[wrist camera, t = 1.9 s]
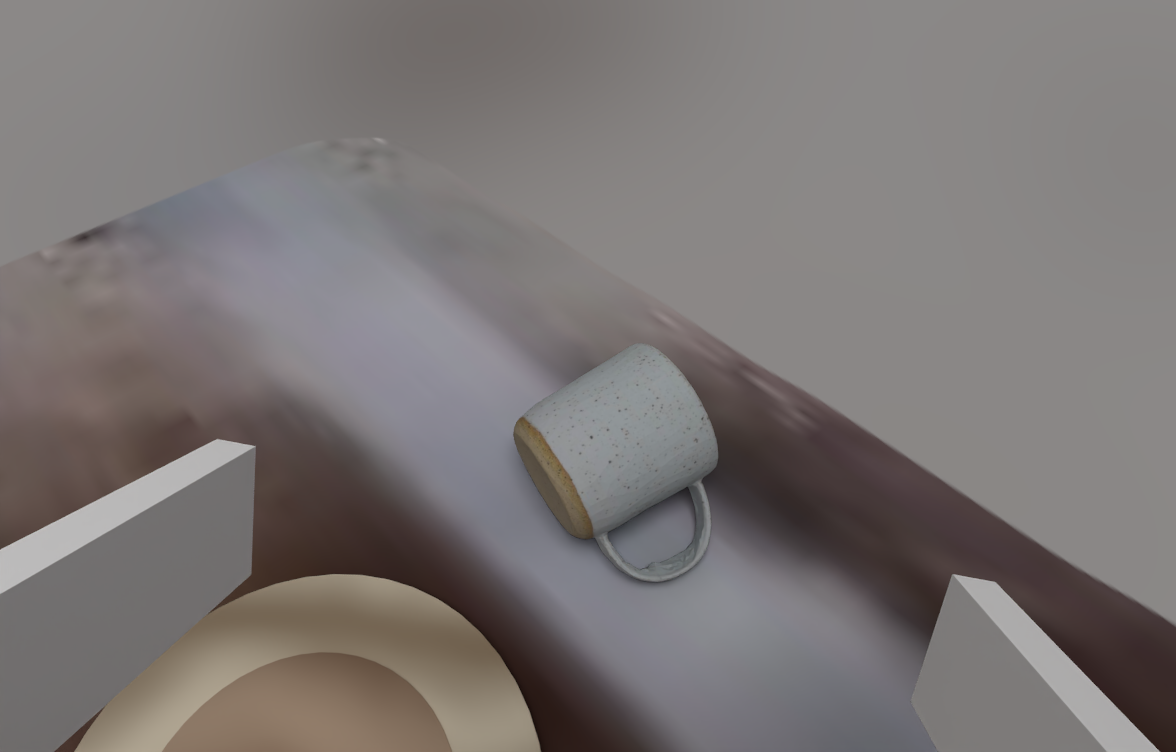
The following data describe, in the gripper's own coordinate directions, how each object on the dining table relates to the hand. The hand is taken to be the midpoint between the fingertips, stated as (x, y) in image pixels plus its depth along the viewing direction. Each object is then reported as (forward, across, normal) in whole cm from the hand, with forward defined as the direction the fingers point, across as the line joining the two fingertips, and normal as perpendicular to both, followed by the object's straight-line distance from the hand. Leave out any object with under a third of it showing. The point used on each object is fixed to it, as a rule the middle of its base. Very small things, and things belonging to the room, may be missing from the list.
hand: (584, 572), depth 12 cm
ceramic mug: (+23, +2, -8) cm, 24 cm away
